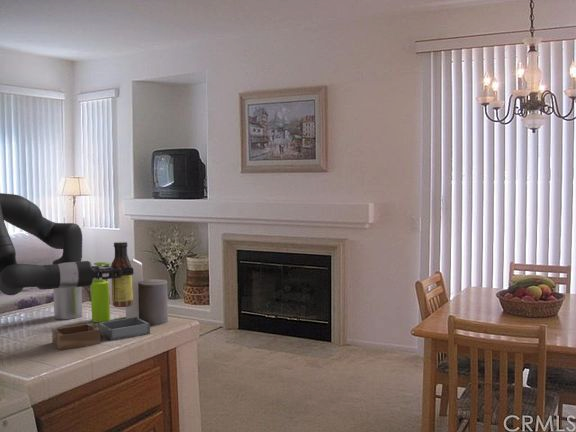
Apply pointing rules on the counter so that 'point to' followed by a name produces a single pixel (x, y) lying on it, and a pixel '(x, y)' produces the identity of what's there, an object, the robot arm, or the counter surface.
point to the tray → (124, 328)
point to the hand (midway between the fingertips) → (129, 269)
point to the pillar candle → (153, 301)
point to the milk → (135, 289)
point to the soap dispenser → (100, 298)
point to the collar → (75, 336)
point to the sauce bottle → (121, 278)
